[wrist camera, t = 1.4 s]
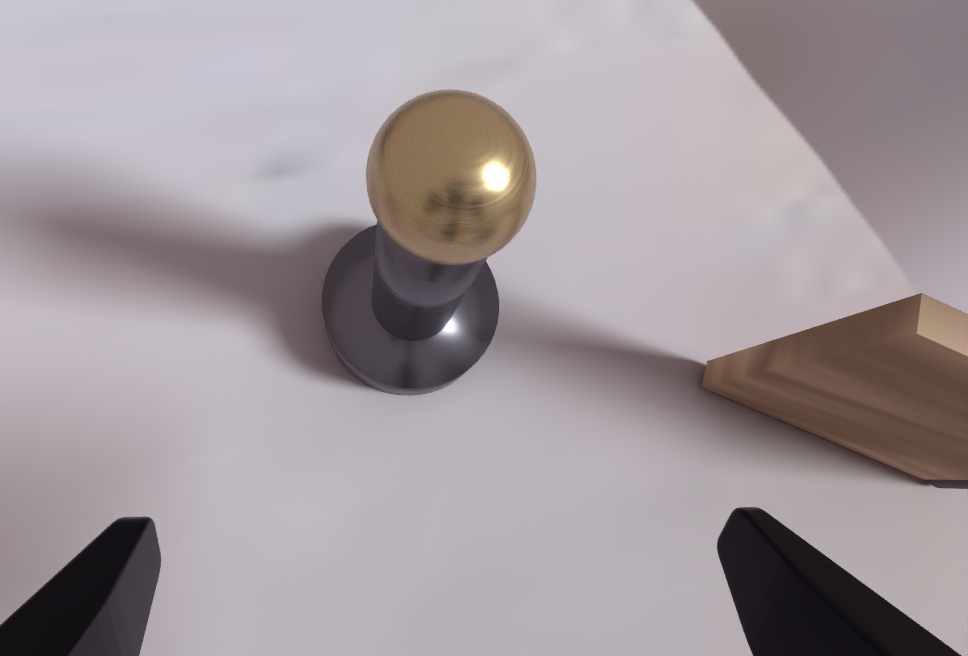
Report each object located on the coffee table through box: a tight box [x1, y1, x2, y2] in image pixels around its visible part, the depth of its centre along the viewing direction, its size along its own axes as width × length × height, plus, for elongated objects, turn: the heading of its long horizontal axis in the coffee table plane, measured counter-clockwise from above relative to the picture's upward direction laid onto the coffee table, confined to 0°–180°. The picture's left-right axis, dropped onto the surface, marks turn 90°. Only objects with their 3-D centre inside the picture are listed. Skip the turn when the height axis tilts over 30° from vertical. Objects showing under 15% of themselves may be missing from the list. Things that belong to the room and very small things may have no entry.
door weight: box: [322, 90, 536, 395], centre depth 17 cm, size 6×6×13 cm
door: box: [701, 293, 968, 489], centre depth 21 cm, size 1×13×10 cm, turn 70°
